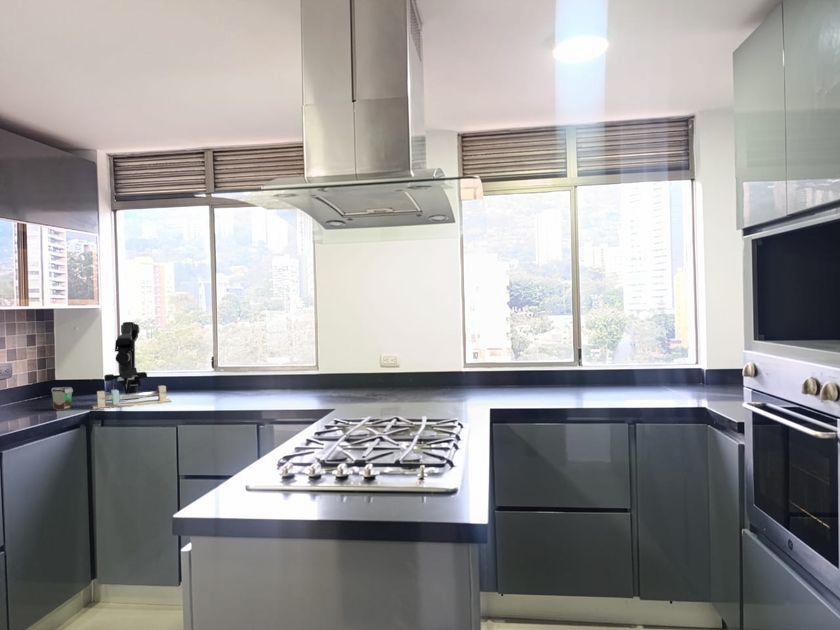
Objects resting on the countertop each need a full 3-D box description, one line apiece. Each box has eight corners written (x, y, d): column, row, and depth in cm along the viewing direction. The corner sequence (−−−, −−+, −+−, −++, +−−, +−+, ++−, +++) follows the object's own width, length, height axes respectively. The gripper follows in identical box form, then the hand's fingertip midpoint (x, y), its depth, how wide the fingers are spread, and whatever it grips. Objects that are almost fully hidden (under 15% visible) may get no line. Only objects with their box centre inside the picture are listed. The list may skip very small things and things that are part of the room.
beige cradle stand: (92, 407, 281) (91, 391, 281) (168, 399, 299) (167, 384, 299) (93, 410, 273) (92, 393, 273) (171, 402, 291) (170, 386, 291)
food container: (79, 408, 280) (78, 387, 280) (66, 410, 275) (65, 389, 275) (65, 406, 286) (64, 386, 286) (52, 408, 281) (51, 388, 281)
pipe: (97, 401, 279) (97, 395, 279) (165, 395, 295) (164, 389, 295) (97, 402, 277) (97, 396, 277) (165, 395, 293) (165, 390, 293)
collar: (111, 402, 288) (111, 389, 288) (117, 401, 290) (117, 389, 290) (113, 404, 279) (113, 392, 279) (119, 404, 280) (119, 391, 280)
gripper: (104, 364, 278) (106, 397, 278) (147, 362, 288) (148, 393, 288) (103, 363, 288) (104, 395, 288) (145, 360, 297) (146, 391, 297)
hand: (126, 393), depth 290 cm, fingers closed
